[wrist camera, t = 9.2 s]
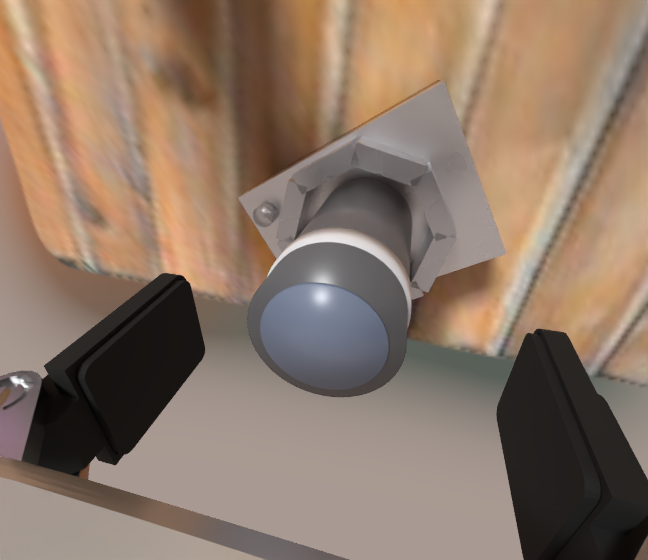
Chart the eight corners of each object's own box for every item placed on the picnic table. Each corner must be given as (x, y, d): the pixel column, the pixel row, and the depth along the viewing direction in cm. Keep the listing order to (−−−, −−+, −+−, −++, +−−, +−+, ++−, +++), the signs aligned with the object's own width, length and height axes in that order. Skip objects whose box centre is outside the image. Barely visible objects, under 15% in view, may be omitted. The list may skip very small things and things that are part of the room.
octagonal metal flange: (438, 80, 19) (447, 81, 14) (489, 220, 23) (515, 271, 17) (268, 177, 24) (221, 209, 18) (329, 281, 27) (305, 337, 22)
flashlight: (319, 173, 18) (232, 255, 10) (420, 179, 17) (422, 278, 9) (319, 261, 21) (250, 387, 12) (407, 271, 20) (399, 415, 11)
